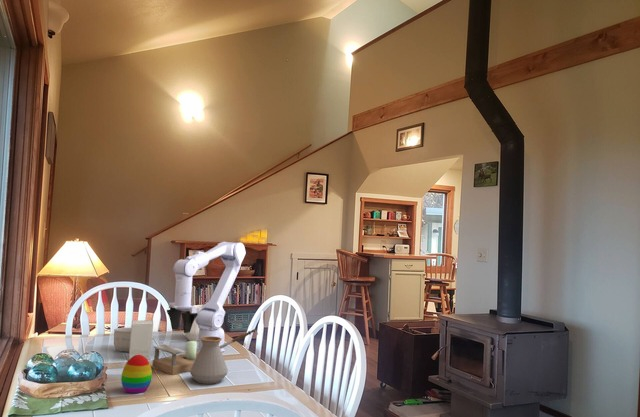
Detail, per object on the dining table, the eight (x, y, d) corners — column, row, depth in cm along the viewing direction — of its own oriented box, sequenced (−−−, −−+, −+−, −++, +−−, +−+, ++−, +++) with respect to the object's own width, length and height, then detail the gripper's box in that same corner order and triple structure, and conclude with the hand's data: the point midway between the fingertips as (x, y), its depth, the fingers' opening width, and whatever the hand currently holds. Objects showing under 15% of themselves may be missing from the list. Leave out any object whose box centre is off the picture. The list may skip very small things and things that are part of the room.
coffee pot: (195, 387, 144) (199, 336, 145) (185, 377, 154) (188, 329, 155) (262, 380, 155) (264, 332, 156) (248, 370, 165) (250, 325, 166)
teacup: (106, 351, 181) (107, 329, 181) (127, 345, 191) (129, 324, 191) (135, 356, 176) (136, 333, 176) (156, 350, 186) (157, 329, 186)
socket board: (197, 358, 177) (198, 339, 177) (218, 365, 169) (219, 345, 169) (152, 367, 163) (153, 346, 163) (172, 375, 155) (174, 352, 155)
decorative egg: (115, 394, 135) (118, 357, 135) (127, 385, 143) (129, 350, 144) (145, 395, 135) (147, 359, 135) (154, 386, 143) (157, 352, 144)
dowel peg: (191, 363, 170) (193, 340, 170) (197, 365, 167) (198, 342, 168) (183, 365, 167) (184, 341, 167) (189, 367, 165) (190, 343, 165)
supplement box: (150, 359, 172) (153, 323, 173) (128, 360, 170) (131, 323, 170) (150, 354, 179) (153, 319, 180) (129, 355, 177) (131, 320, 177)
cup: (205, 334, 218) (207, 303, 219) (221, 340, 208) (223, 307, 209) (177, 337, 209) (180, 305, 210) (193, 344, 199) (195, 309, 200)
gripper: (162, 291, 178) (159, 328, 177) (185, 295, 169) (183, 335, 168) (179, 290, 184) (176, 326, 183) (202, 294, 174) (200, 333, 173)
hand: (180, 330), depth 176 cm, fingers open, 7 cm apart
